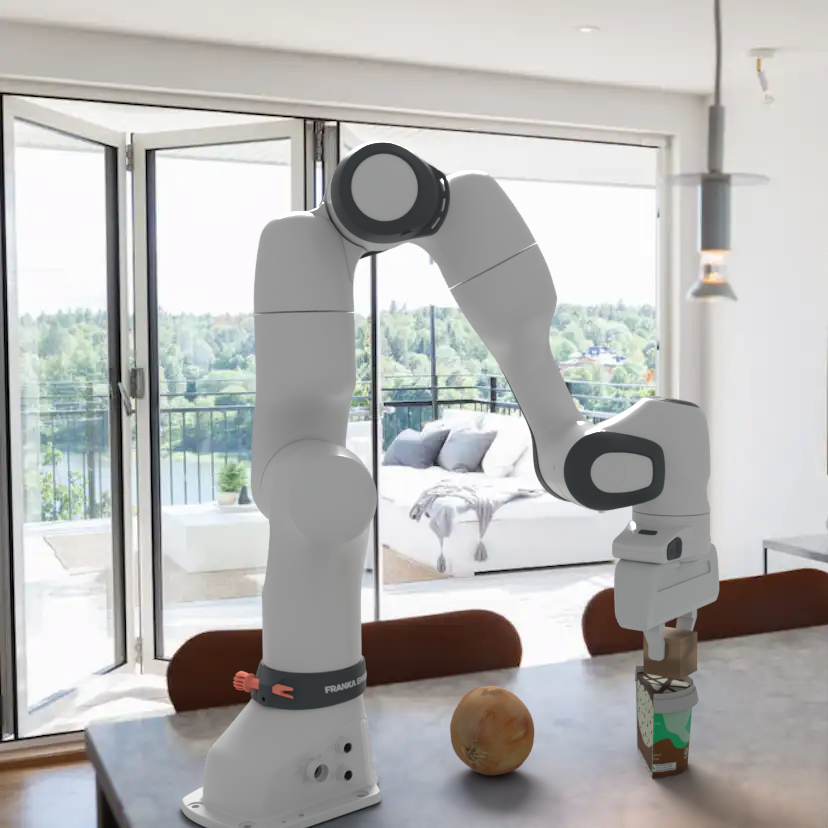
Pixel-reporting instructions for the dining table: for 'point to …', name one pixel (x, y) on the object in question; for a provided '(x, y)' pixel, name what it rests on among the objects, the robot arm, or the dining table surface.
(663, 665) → the walnut block
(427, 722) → the dining table surface
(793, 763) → the dining table surface
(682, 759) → the food container
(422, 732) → the dining table surface
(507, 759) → the onion
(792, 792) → the dining table surface
